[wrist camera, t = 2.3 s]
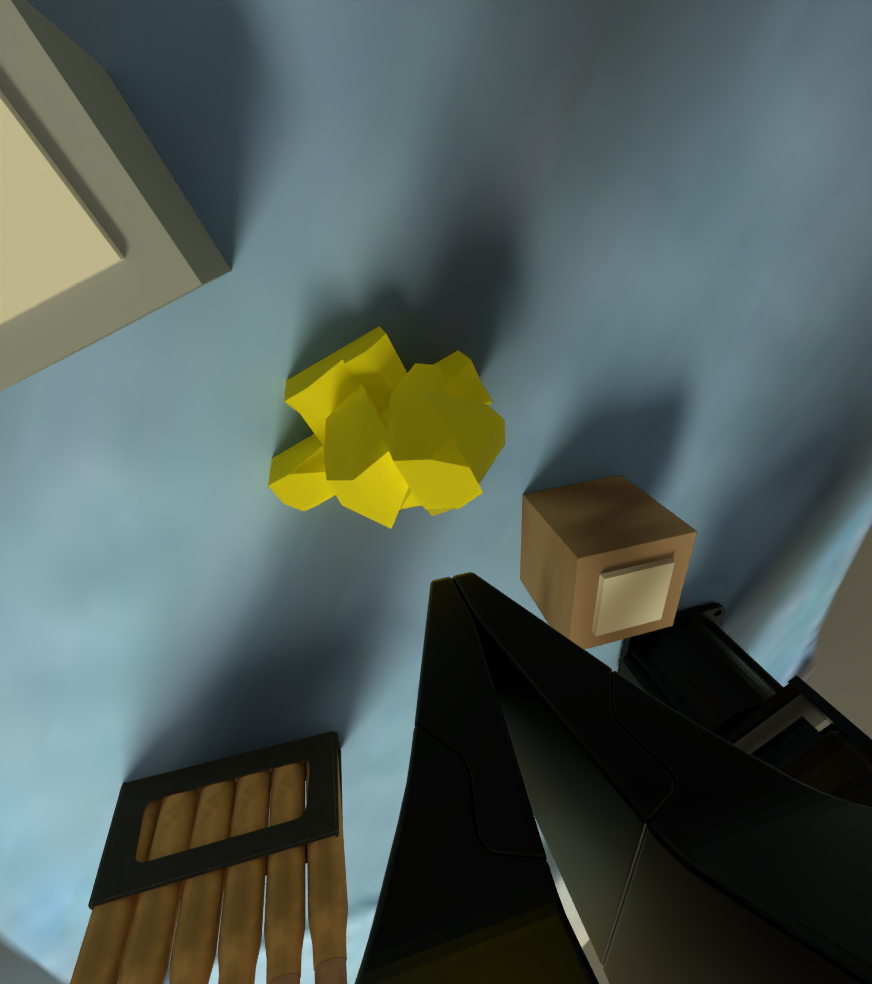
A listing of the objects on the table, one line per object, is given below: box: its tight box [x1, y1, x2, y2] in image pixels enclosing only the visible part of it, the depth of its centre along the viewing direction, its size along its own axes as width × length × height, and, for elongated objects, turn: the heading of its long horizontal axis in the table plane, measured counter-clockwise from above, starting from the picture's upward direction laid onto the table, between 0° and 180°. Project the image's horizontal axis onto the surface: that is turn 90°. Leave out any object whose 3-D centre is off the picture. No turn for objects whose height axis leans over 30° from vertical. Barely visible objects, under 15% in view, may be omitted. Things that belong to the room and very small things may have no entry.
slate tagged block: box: [0, 0, 232, 391], centre depth 11 cm, size 5×5×5 cm
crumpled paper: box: [268, 326, 505, 529], centre depth 14 cm, size 6×8×8 cm
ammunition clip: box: [70, 731, 348, 984], centre depth 20 cm, size 11×2×12 cm, turn 91°
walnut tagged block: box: [520, 475, 697, 649], centre depth 20 cm, size 5×5×5 cm
